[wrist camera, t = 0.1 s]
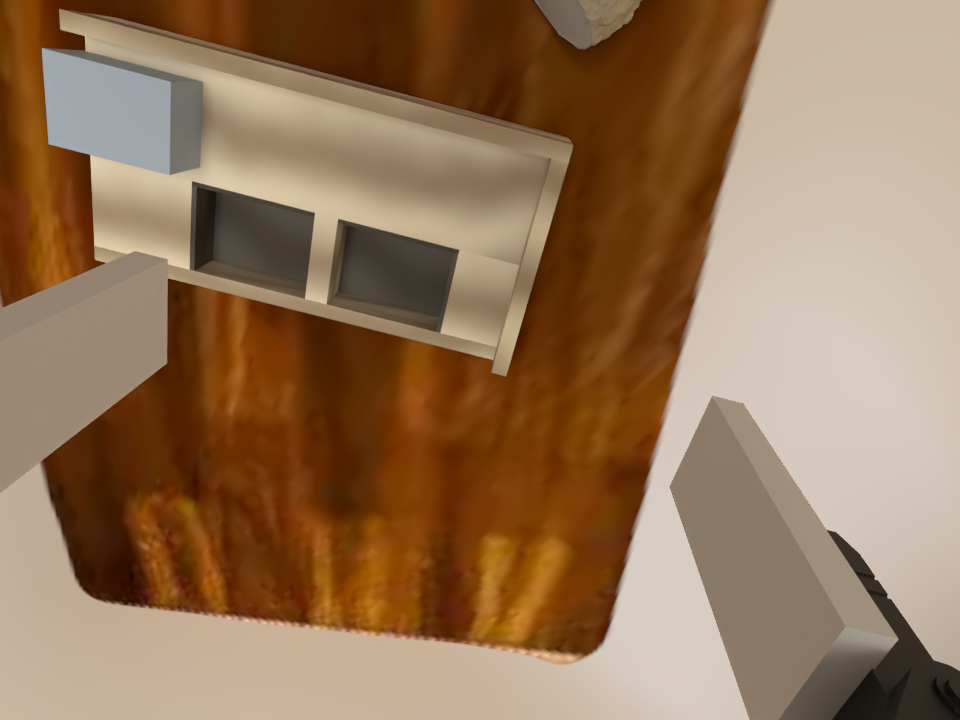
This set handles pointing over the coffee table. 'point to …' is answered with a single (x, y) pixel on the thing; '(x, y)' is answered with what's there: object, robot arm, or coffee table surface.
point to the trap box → (335, 196)
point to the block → (122, 111)
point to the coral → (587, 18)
